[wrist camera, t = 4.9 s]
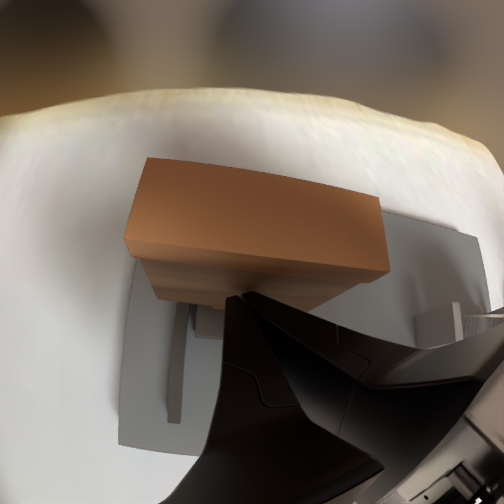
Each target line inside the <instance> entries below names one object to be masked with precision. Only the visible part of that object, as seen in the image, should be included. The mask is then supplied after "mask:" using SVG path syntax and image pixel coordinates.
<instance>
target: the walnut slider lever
mask: <svg viewBox="0 0 504 504" xmlns="http://www.w3.org/2000/svg"><path fill="white" fill-rule="evenodd" d="M124 241H125V243H126V245H127V247H128V249H129V251H130V254H131V256H132V257H139V260H140V262H141V264H142V267H143V269H144V271H145V273H146V275H147V278H148V280H149V282H150V284H151V286H152V288H153V290H154V293H155V295H156V297H157V299H160V300H167V301H175V302H183V303H191V304H198V305H197V315H196V326H195V337H198V338H208V339H218V340H223V325H224V311H225V299H226V297H230V296H234V295H238V296H239V297H240V298H241V295H242V294H243V293H246V292H250V291H255V292H258V293H260V294H262V295H265V296H267V297H270V298H272V299H275V300H277V301H279V302H282V303H284V304H287V305H289V306H292V307H294V308H297V309H299V310H302V311H304V312H308V311H310V310H312V309H314V308H316V307H318V306H320V305H322V304H323V303H325V302H327V301H329V300H331V299H333V298H335V297H336V296H338V295H340V294H342V293H344V292H346V291H347V290H349V289H351V288H353V287H355V286H356V285H358V284H360V283H369V284H370V283H371V282H373V281H375V280H377V279H379V278H380V277H382V276H384V275H386V274H387V273H389V272H391V271H390V263H389V256H388V249H387V242H386V236H385V230H384V224H383V218H382V213H381V208H380V203H379V198H378V197H375V196H371V195H368V194H364V193H360V192H355V191H351V190H347V189H343V188H339V187H334V186H330V185H325V184H321V183H316V182H311V181H306V180H301V179H296V178H291V177H286V176H281V175H275V174H270V173H264V172H258V171H252V170H246V169H239V168H233V167H226V166H219V165H212V164H204V163H196V162H188V161H179V160H170V159H159V158H148V157H147V160H146V163H145V166H144V169H143V172H142V175H141V178H140V181H139V184H138V188H137V191H136V194H135V198H134V201H133V205H132V208H131V212H130V216H129V219H128V223H127V227H126V231H125V235H124Z"/></svg>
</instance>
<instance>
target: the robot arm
mask: <svg viewBox="0 0 504 504" xmlns="http://www.w3.org/2000/svg"><path fill="white" fill-rule="evenodd" d="M394 492H397V493H398V494H399V495H400V497H401V498H402V499H403V500H404V501H405V503H406V504H475V503H476V501H475V500H476V499H477V498H480V499H481V500H482V502H481V503H479V504H504V322H503V323H502V324H500V325H498V326H496V327H494V328H492V329H490V330H487V331H485V332H482V333H479V334H477V335H474V336H471V337H468V338H466V339H463V340H460V341H457V342H454V343H451V344H448V345H445V346H442V347H438V348H433V349H420V348H415V347H411V346H407V345H403V344H399V343H395V342H391V341H387V340H383V339H380V338H376V337H373V336H369V335H366V334H363V333H360V332H357V331H354V330H351V329H348V328H346V327H343V326H340V325H338V326H337V324H335V323H332V322H330V321H327V320H325V319H322V318H320V317H317V316H314V315H312V314H309V313H307V312H304V311H302V310H299V309H297V308H294V307H292V306H289V305H287V304H284V303H282V302H279V301H277V300H275V299H272V298H270V297H267V296H265V295H262V294H260V293H258V292H255V291H250V292H246V293H243V294H242V295H241V298H240V297H239V296H238V295H234V296H230V297H226V299H225V311H224V325H223V341H222V358H221V373H220V382H219V389H218V394H217V400H216V404H215V408H214V412H213V416H212V420H211V424H210V428H209V432H208V436H207V439H206V442H205V445H204V448H203V451H202V453H201V455H200V457H199V458H198V460H197V461H196V462H195V464H194V465H193V466H192V468H191V469H190V470H189V471H188V473H187V474H186V475H185V477H184V478H183V479H182V481H181V482H180V483H179V484H178V486H177V487H176V488H175V489H174V491H173V492H172V493H171V494H170V495H169V496H168V497H167V498H166V499H165V500H164V501H162V502H160V503H159V504H352V503H353V502H354V501H355V500H356V502H357V503H358V504H377V503H379V502H381V501H382V500H384V499H385V498H387V497H388V496H390V495H391V494H393V493H394Z"/></svg>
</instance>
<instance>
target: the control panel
mask: <svg viewBox="0 0 504 504" xmlns="http://www.w3.org/2000/svg"><path fill="white" fill-rule="evenodd" d="M381 213H382V218H383V224H384V230H385V236H386V242H387V249H388V256H389V263H390V271H391V272H389V273H387V274H386V275H384V276H382V277H380V278H379V279H377V280H375V281H373V282H371V283H370V284H369V283H360V284H358V285H356V286H355V287H353V288H351V289H349V290H347V291H346V292H344V293H342V294H340V295H338V296H336V297H335V298H333V299H331V300H329V301H327V302H325V303H323V304H322V305H320V306H318V307H316V308H314V309H312V310H310V311H308V312H307V313H309V314H312V315H314V316H317V317H320V318H322V319H325V320H327V321H330V322H332V323H335V324H337V326H338V325H340V326H343V327H346V328H348V329H351V330H354V331H357V332H360V333H363V334H366V335H369V336H373V337H376V338H380V339H383V340H387V341H391V342H395V343H399V344H403V345H407V346H411V347H415V348H420V349H433V348H438V347H442V346H445V345H448V344H451V343H454V342H457V341H460V340H463V332H462V320H461V316H462V315H487V314H504V307H503V308H500V309H497V310H495V311H492V312H491V306H490V298H489V292H488V286H487V280H486V274H485V269H484V264H483V260H482V255H481V251H480V247H479V243H478V239H477V237H474V236H471V235H468V234H464V233H461V232H458V231H454V230H451V229H448V228H444V227H441V226H437V225H434V224H430V223H427V222H423V221H419V220H415V219H412V218H408V217H404V216H400V215H396V214H392V213H388V212H384V211H381ZM197 305H198V304H191V303H183V302H175V301H167V300H160V299H157V297H156V295H155V293H154V290H153V288H152V286H151V284H150V282H149V280H148V278H147V275H146V273H145V271H144V269H143V267H142V264H141V262H140V260H139V257H137V261H136V266H135V272H134V277H133V283H132V289H131V295H130V301H129V307H128V314H127V322H126V329H125V338H124V346H123V356H122V367H121V380H120V397H119V428H118V445H123V446H128V447H133V448H138V449H144V450H150V451H156V452H163V453H171V454H180V455H190V456H200V455H201V453H202V451H203V448H204V445H205V442H206V439H207V436H208V432H209V428H210V424H211V420H212V416H213V412H214V408H215V404H216V400H217V394H218V389H219V382H220V373H221V358H222V341H223V340H218V339H208V338H198V337H195V326H196V315H197Z"/></svg>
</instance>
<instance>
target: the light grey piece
mask: <svg viewBox="0 0 504 504" xmlns="http://www.w3.org/2000/svg"><path fill="white" fill-rule="evenodd" d="M461 320H462V332H463V339H466V338H468V337H471V336H474V335H477V334H479V333H482V332H485V331H487V330H490V329H492V328H494V327H496V326H498V325H500V324H502V323H503V322H504V314H487V315H462V316H461Z"/></svg>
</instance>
